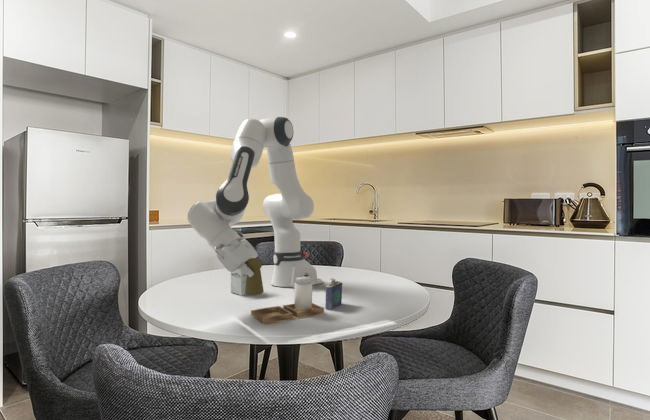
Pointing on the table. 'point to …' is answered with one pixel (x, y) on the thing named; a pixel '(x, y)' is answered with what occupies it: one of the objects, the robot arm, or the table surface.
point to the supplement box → (238, 282)
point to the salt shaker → (303, 293)
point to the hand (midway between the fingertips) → (255, 273)
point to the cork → (254, 277)
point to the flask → (333, 294)
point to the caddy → (284, 313)
